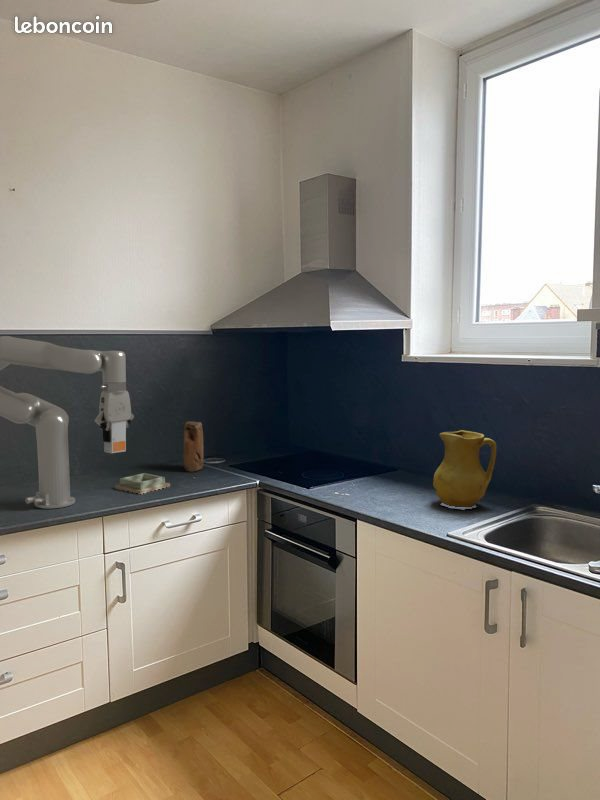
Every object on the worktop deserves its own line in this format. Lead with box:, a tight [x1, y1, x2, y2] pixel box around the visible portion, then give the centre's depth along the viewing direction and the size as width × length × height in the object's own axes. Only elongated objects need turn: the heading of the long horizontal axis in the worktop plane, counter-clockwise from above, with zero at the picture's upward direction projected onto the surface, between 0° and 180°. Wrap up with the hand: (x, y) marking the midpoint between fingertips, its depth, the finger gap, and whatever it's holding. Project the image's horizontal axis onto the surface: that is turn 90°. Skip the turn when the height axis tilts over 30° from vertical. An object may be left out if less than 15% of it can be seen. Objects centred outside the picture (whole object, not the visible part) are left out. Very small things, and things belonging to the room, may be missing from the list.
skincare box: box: [103, 420, 127, 454], centre depth 212 cm, size 6×4×12 cm
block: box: [183, 421, 204, 473], centre depth 261 cm, size 11×8×20 cm
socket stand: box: [114, 472, 171, 495], centre depth 231 cm, size 14×14×4 cm
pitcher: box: [432, 429, 497, 507], centre depth 207 cm, size 17×19×25 cm
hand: (115, 439), depth 212 cm, fingers closed on skincare box, 6 cm apart
